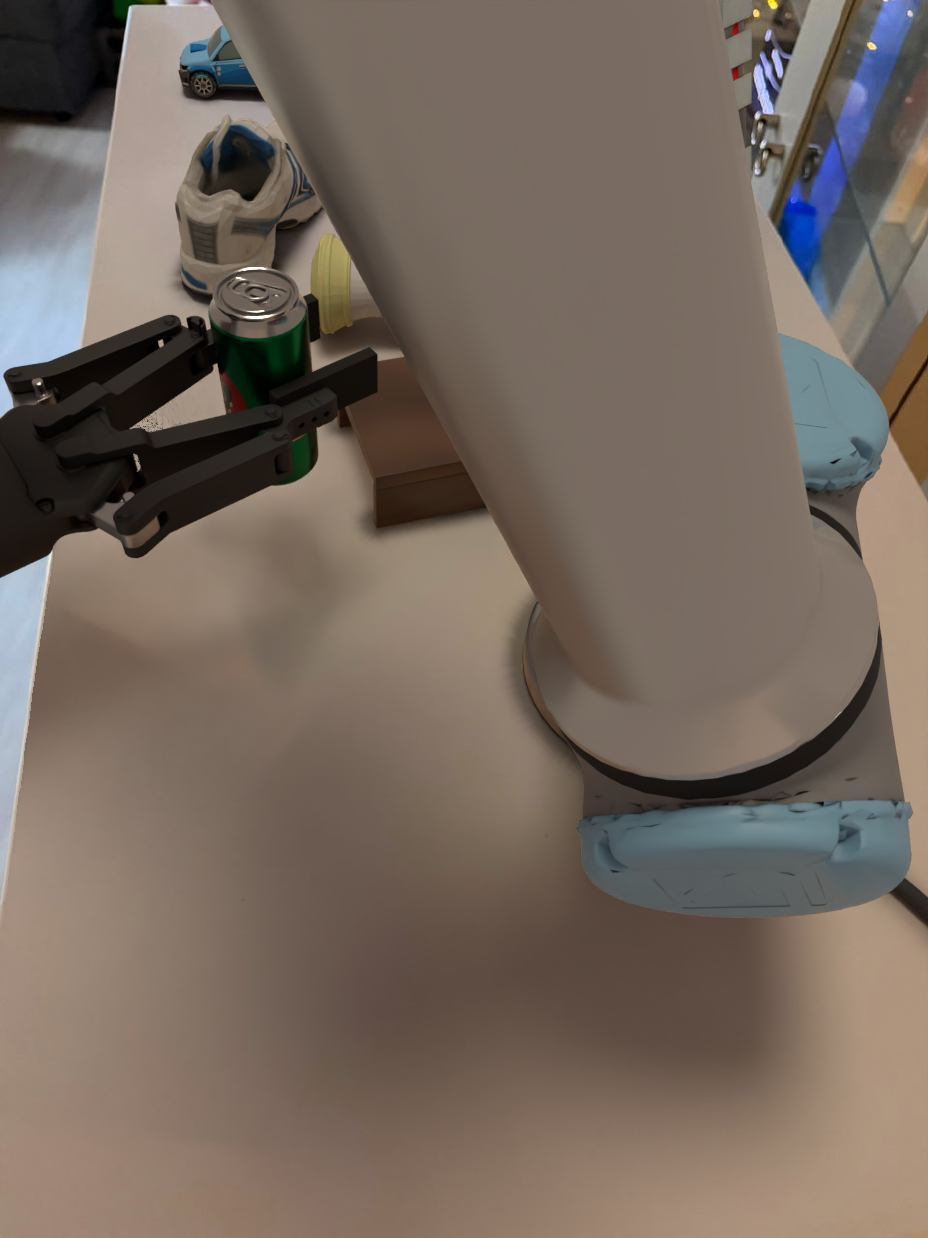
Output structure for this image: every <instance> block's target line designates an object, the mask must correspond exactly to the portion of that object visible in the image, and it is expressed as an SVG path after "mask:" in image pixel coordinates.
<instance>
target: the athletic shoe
mask: <svg viewBox="0 0 928 1238" xmlns="http://www.w3.org/2000/svg"><path fill="white" fill-rule="evenodd" d="M175 199H176V200H175V202H174V208H175V209H174V210H175V214H176V219H177V224H178V232H179V237H180V248H179V257H180V261H181V263H182V264H181V269H180V277H181V284H183V286H185V287H187V288H188V289H189V290H190V291H191V292H192V293H196V294H198V295H202V296H206V297H212V298H213V289H214V286H215V285H216V283H217V282H218V281H219V280H220V279H221V278H222V277H223V276H225V275H226V274H228V273H230V272H233V271H235V270H239V269H242V268H248V267H265V268H271V269H273V262H274V260H275V259H274V258H275V251H276V250H275V249H276V245H277V244H276V229H278V230H287V229H293V228H295V227H296V226H298V225H299V224H300V223H307V222H308V221H309V219H311V218H312V217H314V214H316V213H317V214H318V213H319V211H320V210H321V209H323V206H322V205H321V203H320V201H319V199H318V197H317V195H316V194H315V192H314V190H313V188H312V186H311V185H310V183H309V181H308V179H307V177H306V175H305V174H304V172H303V170H302V168H301V166H300V164H299V163H298V161H297V159H296V157H295V155H294V153H293V152H292V150H291V148H290V146H289V144H288V142H287V141H286V139H285V137H284V135H283V133H282V131H281V130H280V128H279V126H278V124H277V122H276V120H275V119H274V121H273V122H272V123H270V124H269V125H268V126H266V127H265V126H264V125H262V124H261V123H259V122H257V121H256V120H254V119H253V118H249V117H248V118H246V117H242V118H239V119H237V120H233V119H232V118H231V116H230V114H227V115H225V116H224V117H223V118H222V120H221V123H220V124H218V125H217V126H215V127H214V128H213V130H211V131H209V132H207V133H206V134H205V136H204V137H203V138H202V140H200V142H199V144H198V145H197V147H196V149H195V150H194V152H193V154H192V156H191V160H190V162H189V165H188V167H187V169H186V173H185V176H184V178H183V180H182V183H181V184H180V186H179V187H178V191H177V193H176V198H175Z"/></svg>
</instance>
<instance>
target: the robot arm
mask: <svg viewBox="0 0 928 1238" xmlns="http://www.w3.org/2000/svg"><path fill="white" fill-rule="evenodd" d="M209 1H210V3H211V6H212V7H213V9H214V11H215V12H216V14H217V16H218V18H219V20H220V21H221V24H222V25H224V27H225V29H226V31H227V32H228V34H229V36H230V38H231V40H232V42H233V43H234V45H235V47H236V49H237V51H238V53H239V54H240V56H241V58H242V60H243V62H244V64H245V65H246V67H247V69H248V71H249V73H250V75H251V76H252V78H253V80H254V82H255V84H256V86H257V87H258V89H259V90H258V91H259V93H260V95H261V97H262V98H263V100H264V102H265V104H266V105H267V108H268V109H269V111H270V113H271V115H272V117H273V119H274V121H275V120H276V122H277V124H278V126H279V128H280V130H281V131H282V133H283V135H284V137H285V139H286V141H287V142H288V144H289V146H290V148H291V150H292V152H293V153H294V155H295V157H296V159H297V161H298V163H299V164H300V166H301V168H302V170H303V172H304V174H305V175H306V177H307V179H308V181H309V183H310V185H311V186H312V188H313V190H314V192H315V194H316V195H317V197H318V199H319V201H320V203H321V205H322V206H323V207H322V209H323V210H324V212H325V214H326V216H327V218H328V220H329V221H330V223H331V225H332V226H333V229H334V230H335V232H336V234H337V236H338V237H339V238H338V239H340V240H341V241H342V243H343V245H344V247H345V249H346V250H347V252H348V254H349V256H350V258H351V260H352V261H353V263H354V265H355V267H356V269H357V271H358V272H359V274H360V276H361V278H362V280H363V282H364V283H365V285H366V287H367V289H368V291H369V293H370V294H371V296H372V298H373V300H374V302H375V304H376V305H377V307H378V309H379V311H380V313H381V315H382V316H383V317H382V318H383V320H384V322H385V324H386V326H387V328H388V329H389V331H390V333H391V335H392V337H393V338H394V340H395V342H396V344H397V346H398V347H399V350H400V351H401V353H402V355H403V357H405V359H406V360H407V362H408V364H409V366H410V368H411V370H412V371H413V373H414V375H415V377H416V379H417V380H418V382H419V384H420V386H421V388H422V390H423V391H424V393H425V395H426V397H427V399H428V401H429V402H430V404H431V406H432V408H433V410H434V412H435V413H436V415H437V417H438V419H439V421H440V423H441V424H442V426H443V428H444V430H445V432H446V434H447V435H448V437H449V439H450V441H451V443H452V445H453V446H454V448H455V450H456V452H457V454H458V456H459V457H460V459H461V461H462V463H463V465H464V467H465V468H466V470H467V472H468V474H469V476H470V478H471V479H472V481H473V483H474V485H475V487H476V489H477V490H478V492H479V494H480V496H481V498H482V500H483V501H484V503H485V505H486V506H485V507H486V509H487V511H488V513H489V515H490V516H491V519H493V522H494V523H495V525H496V527H497V529H498V531H499V532H500V534H501V536H502V539H503V540H504V542H505V544H506V545H507V547H508V549H509V551H510V552H511V555H512V556H513V558H514V560H515V562H516V564H517V565H518V567H519V569H520V571H521V573H522V575H523V576H524V578H525V580H526V582H527V584H528V585H529V588H530V589H531V592H532V593H533V594H534V597H535V598H536V603H535V604H534V607H533V609H532V611H531V613H530V617H529V620H528V625H527V629H526V633H525V638H524V643H523V653H522V658H523V659H522V661H523V672H524V678H525V681H526V686H527V688H528V691H529V694H530V696H531V698H532V700H533V702H534V704H535V706H536V708H537V710H538V711H539V713H540V714H541V716H542V717H543V718H544V720H545V721H546V722H547V723H548V725H549V726H550V727H551V729H552V730H554V732H555V733H556V734H557V735H559V736H560V737H561V738H562V739H563V740H564V741H565V742H566V743H567V744H568V746H569V747H570V748H571V750H572V752H573V754H574V755H575V757H576V758H577V760H578V762H579V764H580V765H579V766H580V769H581V776H582V786H583V787H582V788H583V791H582V792H583V795H582V796H583V797H582V813H581V818H579V819H578V820H576V821H577V826H576V828H575V830H576V833H577V834H578V835H579V836H580V847H581V863H582V864H581V865H582V868H583V870H584V872H585V875H586V876H587V877H588V879H589V880H590V882H591V883H592V884H593V885H594V886H596V887H597V888H598V889H599V890H601V891H602V892H604V893H605V894H607V895H609V896H611V897H613V898H615V899H618V900H620V901H623V902H625V903H627V904H631V905H634V906H638V907H643V908H647V909H652V910H655V911H661V912H667V913H674V914H680V915H688V916H697V917H706V918H707V917H708V918H727V919H728V918H729V919H770V918H788V917H789V918H790V917H801V916H809V915H818V914H824V913H830V912H836V911H842V910H844V909H848V908H853V907H857V906H861V905H864V904H867V903H869V902H870V903H871V902H872V901H875V900H878V899H879V898H882V897H884V896H886V895H887V894H889V893H890V892H892V891H895V892H896V893H897V894H898V895H899V896H900V897H901V898H903V899H904V900H905V901H906V902H907V903H909V904H910V905H911V906H912V907H913V908H914V909H915V910H916V911H918V912H919V913H920V914H921V915H922V916H923V917H924V918H925V919H926V920H927V921H928V896H927V895H926V894H925V893H924V892H922V890H921V889H919V888H918V887H917V886H916V885H914V883H912V881H911V882H910V880H908V879H907V878H906V876H907V874H908V872H909V870H910V867H911V863H912V845H911V844H912V843H911V836H910V835H911V834H910V824H909V820H910V819H911V818H912V816H913V814H914V811H913V808H912V805H911V802H910V801H906V800H905V794H904V788H903V781H902V776H901V770H900V765H899V759H898V753H897V746H896V738H895V734H894V726H893V720H892V713H891V706H890V705H891V704H890V698H889V697H890V696H889V690H888V689H889V688H888V682H887V680H888V679H887V672H886V664H885V658H884V657H885V655H884V648H883V637H882V631H881V623H880V611H879V605H878V599H877V595H876V592H875V588H874V584H873V581H872V577H871V575H870V572H869V571H868V569H867V567H866V565H865V563H864V559H863V553H862V545H861V541H860V540H861V539H860V533H859V527H858V521H857V520H858V519H857V508H858V501H859V499H860V494H861V492H862V489H863V488H864V487H865V485H866V484H867V482H868V481H870V480H871V479H873V478H874V477H875V475H876V473H877V472H878V470H880V469H881V464H882V463H883V458H882V455H883V452H884V450H885V448H886V446H887V443H888V439H889V434H890V420H889V416H888V412H887V410H886V407H885V405H884V403H883V400H882V399H881V397H880V396H879V394H878V392H877V391H876V390H875V388H874V387H873V386H872V385H871V384H870V383H869V381H868V380H867V379H866V378H865V377H864V376H863V375H861V373H859V372H858V371H857V370H855V369H854V368H853V367H851V366H850V365H849V364H848V363H846V361H843V360H842V359H840V358H839V357H837V356H834V355H832V354H829V353H827V352H826V351H824V350H822V349H821V348H819V347H818V346H816V345H813V344H811V343H809V342H806V341H804V340H801V339H799V338H795V337H793V336H789V335H786V334H783V333H779V331H778V325H777V320H776V315H775V308H774V303H773V297H772V292H771V286H770V280H769V275H768V269H767V264H766V258H765V253H764V247H763V241H762V235H761V229H760V224H759V218H758V213H757V207H756V202H755V195H754V191H753V185H752V178H751V179H750V173H749V168H748V162H747V156H746V151H745V145H744V139H743V134H742V128H741V123H740V117H739V111H738V106H737V100H736V95H735V89H734V83H733V78H732V72H731V67H730V61H729V55H728V50H727V44H726V39H725V33H724V27H723V22H722V16H721V11H720V5H719V0H209ZM302 297H303V298H304V299H305V301H306V303H307V307H308V319H309V333H310V344H311V343H313V342H317V341H319V340H320V339H321V340H322V334H321V327H320V317H319V301H318V299H317V298H316V297H315V296H314V295H313V294H312V293H311V292H310V293H308V294H305V295H302ZM185 319H186V324H187V326H185V325H182V320H181V318H180V316H177V315H175V314H164V315H162V316H159V317H157V318H154V319H152V320H150V321H147V322H144V323H142V324H140V325H137V326H134V327H132V328H129V329H127V330H124V331H122V332H120V333H116V334H114V335H111V336H109V337H107V338H104V339H102V340H99V341H97V342H94V343H92V344H89V345H87V346H84V347H81V348H79V349H76V350H73V351H71V352H68V353H66V354H64V355H61V356H59V357H55V358H53V359H51V360H49V361H43V362H37V363H32V364H31V363H30V364H25V365H19V366H13V367H11V368H8V369H6V370H5V371H4V372H3V375H2V378H3V380H4V382H5V384H6V387H7V390H8V392H9V394H10V397H11V398H12V408H11V409H9V410H7V411H6V412H5V413H4V414H3V415H2V416H0V579H2V578H5V576H8V575H10V574H12V573H15V572H16V571H18V570H21V569H23V568H26V567H28V566H29V565H31V564H34V563H36V562H38V561H40V560H42V559H44V558H46V557H48V556H50V555H51V553H52V552H53V550H54V547H55V545H56V543H58V541H59V540H61V538H63V537H65V536H68V535H72V534H78V533H89V532H94V531H96V530H98V529H99V530H101V531H102V532H104V533H106V534H107V535H110V536H111V537H113V538H114V539H116V540H118V541H120V544H121V546H122V549H123V552H124V555H125V556H127V557H128V558H130V559H140V558H143V557H145V556H146V555H148V554H149V553H150V552H151V551H152V550H153V549H154V548H156V547H157V545H159V544H160V543H161V542H162V541H163V540H164V539H166V538H167V537H168V536H169V535H170V534H172V533H174V532H176V531H178V530H180V529H182V528H184V527H187V526H190V525H191V524H193V523H195V522H198V521H200V520H202V519H204V518H206V517H208V516H211V515H212V514H214V513H217V512H218V511H221V510H223V509H225V508H227V507H229V506H232V505H233V504H236V503H237V502H240V501H243V500H244V499H246V498H249V497H250V496H253V495H255V494H256V493H257V494H258V493H259V492H261V491H263V490H265V489H268V488H269V487H273V486H272V485H274V484H276V483H278V482H280V481H282V480H284V479H287V478H289V477H290V476H292V475H293V474H294V471H295V468H294V458H293V449H292V441H293V440H294V439H296V438H298V437H300V436H302V435H304V434H306V433H308V432H310V431H312V430H315V429H316V428H317V429H318V428H322V427H323V426H326V425H327V424H329V423H332V422H333V421H334V420H335V419H337V416H338V410H340V409H342V408H344V407H347V406H349V405H351V404H353V403H355V402H357V401H360V400H362V399H364V398H366V397H368V396H370V395H372V394H375V393H377V392H378V361H379V360H378V359H379V358H378V353H377V352H376V351H375V350H374V349H373V348H372V347H371V346H367V347H365V348H363V349H361V350H359V351H356V352H354V353H352V354H349V355H347V356H345V357H342V358H340V359H338V360H336V361H334V362H331V363H329V364H326V365H324V366H322V367H320V368H318V369H315V370H312V372H311V373H308V374H306V375H304V376H301V377H299V378H297V379H295V380H292V381H290V382H288V383H285V384H283V385H281V386H279V387H276V388H274V389H272V390H269V399H270V404H268V405H264V406H259V407H255V408H251V409H247V410H242V411H238V412H234V413H230V414H226V413H225V414H222V415H217V416H214V417H210V418H205V419H200V420H197V421H192V422H187V423H183V424H179V425H176V426H175V425H174V426H171V427H167V428H162V429H159V430H155V431H154V430H153V431H148V430H145V429H144V428H142V427H135V426H136V425H138V423H140V422H142V421H143V420H144V419H146V418H147V417H149V416H150V415H152V414H153V413H155V412H156V411H158V410H159V409H161V408H162V407H163V406H165V405H166V404H168V403H169V402H171V401H172V400H174V399H176V398H177V397H178V396H180V395H181V394H183V393H184V392H186V391H187V390H188V389H190V388H191V387H193V386H194V385H196V384H197V383H198V382H200V381H201V380H203V379H205V378H206V377H208V376H209V375H210V374H212V373H213V371H214V369H215V368H214V365H215V366H216V365H217V360H216V354H215V349H214V343H213V337H212V332H211V328H209V329H207V324H206V319H204V318H203V317H202V316H199V315H191V316H188V317H185ZM160 341H162V344H163V345H162V346H160V343H159V342H160ZM261 430H262V435H258V434H259V432H260V431H261ZM134 455H136V457H137V461H138V464H139V469H138V466H137V462H136V459H135V456H134Z"/></svg>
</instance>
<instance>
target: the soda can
mask: <svg viewBox="0 0 928 1238" xmlns="http://www.w3.org/2000/svg"><path fill="white" fill-rule="evenodd" d="M207 314H208V320H209V326H210V329H211V332H212V337H213V343H214V349H215V354H216V360H217V364H216V366H217V371H218V375H219V382H220V387H221V393H222V400H223V406H224V410H225V414H230V413H234V412H238V411H242V410H247V409H251V408H255V407H259V406H264V405H268V404H270V399H269V390H272V389H274V388H276V387H279V386H281V385H283V384H285V383H288V382H290V381H292V380H295V379H297V378H299V377H301V376H304V375H306V374H308V373H311V372H313V360H312V349H311V348H312V347H311V343H310V333H309V319H308V307H307V303H306V301H305V299H304V298H303V295H302V294H301V293H300V289H299V286H298V284H297V283H296V281H295V280H294V279H293V278H292V277H291V276H290V275H289V274H287V273H285V272H283V271H282V270H279V269H274V268H272V269H271V268H265V267H248V268H242V269H239V270H235V271H233V272H230V273H228V274H226V275H225V276H223V277H222V278H221V279H220V280H219V281H218V282H217V283H216V285H215V286H214V289H213V297H212V299H211V300H210V302H209V305H208V310H207ZM258 435H262V430H261V431H260V432H259V434H258ZM292 449H293V458H294V468H295V471H294V474H293V475H292V476H290V477H289V478H287V479H284V480H282V481H280V482H278V483H276V484H274V485H272V486H271V487H280V486H287V485H291V484H293V483H296V482H298V481H299V480H301V479H303V478H304V477H306V476H307V475H309V474H310V472H312V471H313V469H314V468H315V466H316V464H317V463H318V459H319V439H318V428H316V429H315V430H312V431H310V432H308V433H306V434H304V435H302V436H300V437H298V438H296V439H294V440H293V441H292Z"/></svg>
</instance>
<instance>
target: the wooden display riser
mask: <svg viewBox="0 0 928 1238" xmlns="http://www.w3.org/2000/svg"><path fill="white" fill-rule="evenodd" d="M336 422H337V425H338V427H339V428H340V429H343V428H349V427H352V431H353V432H354V436H355V438H356V441H357V443H358V446H359V448H360V452H361V454H362V457H363V459H364V462H365V464H366V467H367V470H368V472H369V475H370V478H371V481H372V495H373V496H372V501H373V503H372V504H373V506H372V507H373V523H374V525H375V528H376V529H382V528H387V527H392V526H397V525H402V524H407V523H413V522H416V521H422V520H426V519H431V518H436V517H441V516H446V515H451V514H457V513H460V512H465V511H470V510H476V509H480V508H484V507H486V505H485V503H484V501H483V500H482V498H481V496H480V494H479V492H478V490H477V489H476V487H475V485H474V483H473V481H472V479H471V478H470V476H469V474H468V472H467V470H466V468H465V467H464V465H463V463H462V461H461V459H460V457H459V456H458V454H457V452H456V450H455V448H454V446H453V445H452V443H451V441H450V439H449V437H448V435H447V434H446V432H445V430H444V428H443V426H442V424H441V423H440V421H439V419H438V417H437V415H436V413H435V412H434V410H433V408H432V406H431V404H430V402H429V401H428V399H427V397H426V395H425V393H424V391H423V390H422V388H421V386H420V384H419V382H418V380H417V379H416V377H415V375H414V373H413V371H412V370H411V368H410V366H409V364H408V362H407V360H406V359H405V357H404V356H402V357H401V356H400V357H394V358H388V359H382V360H378V392H377V393H375V394H372V395H370V396H368V397H366V398H364V399H362V400H360V401H357V402H355V403H353V404H351V405H349V406H347V407H344V408H342V409H340V410H338V416H337V417H336Z"/></svg>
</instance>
